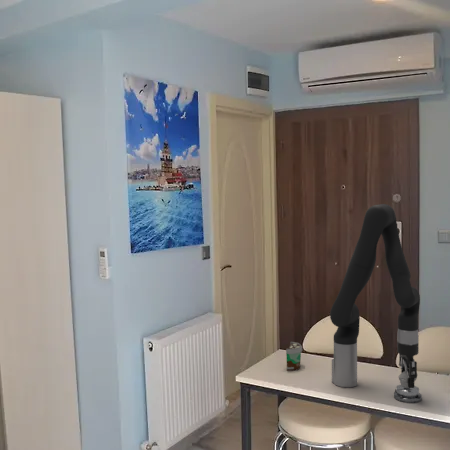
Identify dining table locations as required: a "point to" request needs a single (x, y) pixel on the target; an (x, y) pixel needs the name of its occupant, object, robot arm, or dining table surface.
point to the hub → (407, 394)
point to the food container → (293, 356)
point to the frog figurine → (405, 379)
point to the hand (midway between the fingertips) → (407, 383)
